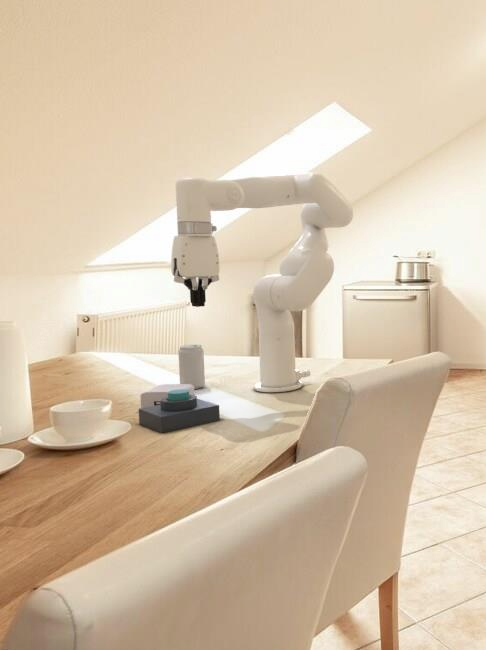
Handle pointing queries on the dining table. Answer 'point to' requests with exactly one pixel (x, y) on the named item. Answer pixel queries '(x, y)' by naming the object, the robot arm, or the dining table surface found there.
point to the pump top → (178, 395)
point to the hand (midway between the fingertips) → (198, 306)
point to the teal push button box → (178, 414)
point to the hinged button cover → (162, 393)
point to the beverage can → (191, 365)
